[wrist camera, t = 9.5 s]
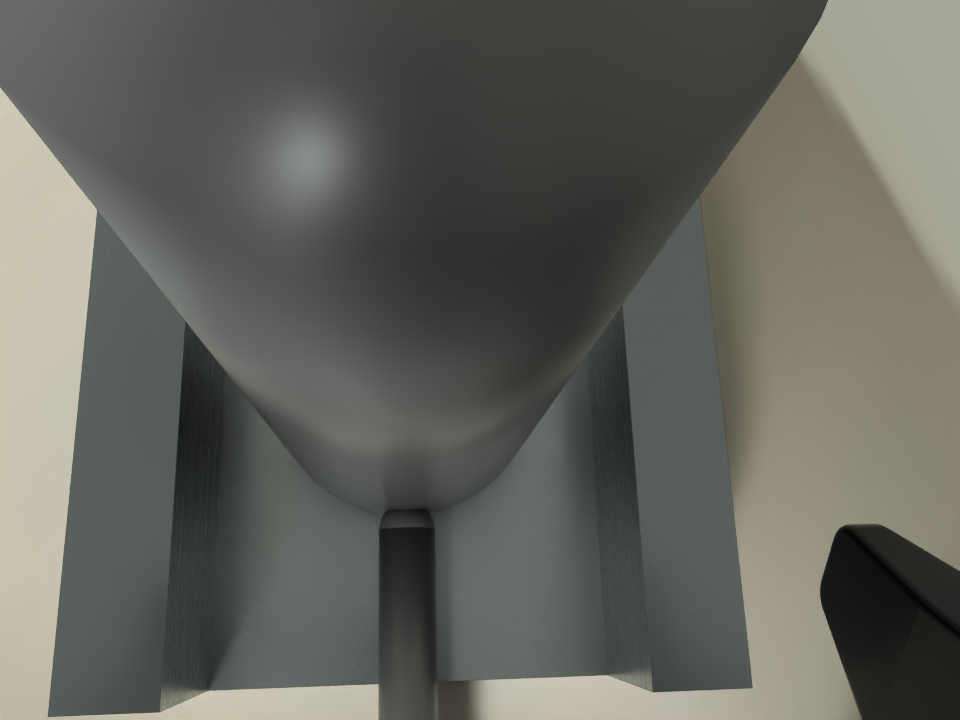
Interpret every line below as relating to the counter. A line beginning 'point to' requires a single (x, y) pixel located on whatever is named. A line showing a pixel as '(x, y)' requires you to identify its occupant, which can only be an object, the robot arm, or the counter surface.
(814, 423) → the counter surface
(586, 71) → the plug
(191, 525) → the housing
